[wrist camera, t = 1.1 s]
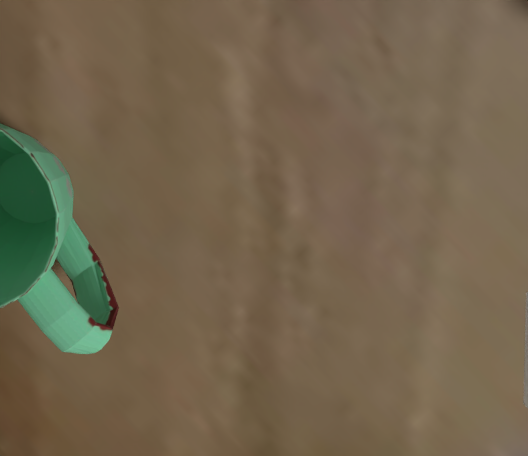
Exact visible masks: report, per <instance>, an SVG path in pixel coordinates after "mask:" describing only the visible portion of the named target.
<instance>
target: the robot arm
mask: <svg viewBox="0 0 528 456" xmlns="http://www.w3.org/2000/svg"><path fill="white" fill-rule="evenodd" d="M524 405H525V406H526V407H527V408H528V292H526V323H525V365H524Z"/></svg>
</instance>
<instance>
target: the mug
mask: <svg viewBox="0 0 528 456" xmlns="http://www.w3.org/2000/svg"><path fill="white" fill-rule="evenodd" d="M72 212H73V188H72V184H71V181H70V177H69V174H68V172H67V171H66V169H65V168H64V166H63V165H62V163H61V162H60V160H59V159H58V158H57V157H56V156H55V155H54V154H52V153H51V152H50V151H49V150H48V149H47V148H45V147H44V146H43V145H42V144H41V143H40V142H38V141H37V140H36V139H34V138H32V137H30V136H28V135H26V134H24V133H22V132H19V131H17V130H15V129H12V128H10V127H8V126H5V125H3V124H1V123H0V308H2V307H4V306H6V305H8V304H9V303H11V302H13V301H15V300H18V301H19V302H20V304H21V305H22V306H23V307H24V309H25V310H26V311H27V312H28V314H29V315H30V316H31V318H32V319H33V320H34V321H35V323H36V324H37V325H38V327H39V328H40V329H41V330H42V331H43V333H44V334H45V335H46V336H47V337H48V338H49V339H50V340H51V341H52V342H53V343H54V344H55V345H56V346H57V347H58V348H59V349H60V350H61V351H62V352H69V353H78V354H91V353H96V352H97V351H99V350H101V349H102V347H103V346H104V345H105V344H106V343H107V342H108V340H109V339H110V336H111V333H112V330H113V326H114V323H115V319H116V316H117V312H118V309H119V307H118V304H117V302H116V299H115V297H114V294H113V291H112V289H111V286H110V284H109V281H108V279H107V276H106V274H105V271H104V268H103V266H102V263H101V261H100V259H99V257H98V256H97V254H96V253H95V251H94V250H93V248H92V247H91V245H90V244H89V242H88V241H87V239H86V238H85V236H84V235H83V233H82V231H81V230H80V228H79V227H78V225H77V224H76V222H75V221H74V219H73V218H72ZM56 258H57V260H58V261H59V263H60V265H61V266H62V268H63V269H64V271H65V272H66V274H67V276H68V277H69V279H70V280H71V282H72V285H73V288H74V292H75V295H76V299H77V301H76V300H75V299H74V297H73V296H72V295H71V294H70V292H69V291H68V290H67V288H66V287H65V286H64V284H63V283H62V282H61V281H60V279H59V278H58V277H57V275H56V274H55V273H54V272H53V270H52V269H51V267H52V266H53V264H54V262H55V259H56ZM77 302H78V303H77Z"/></svg>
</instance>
